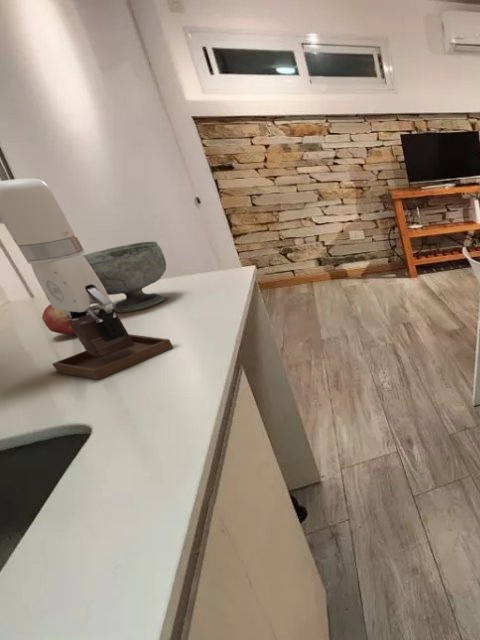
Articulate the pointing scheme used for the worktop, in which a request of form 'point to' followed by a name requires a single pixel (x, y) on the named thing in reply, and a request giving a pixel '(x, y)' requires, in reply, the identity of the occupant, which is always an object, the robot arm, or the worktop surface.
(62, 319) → the fruit
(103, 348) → the box
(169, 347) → the desk tray
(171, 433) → the worktop surface
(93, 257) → the bowl
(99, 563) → the worktop surface
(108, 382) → the worktop surface
